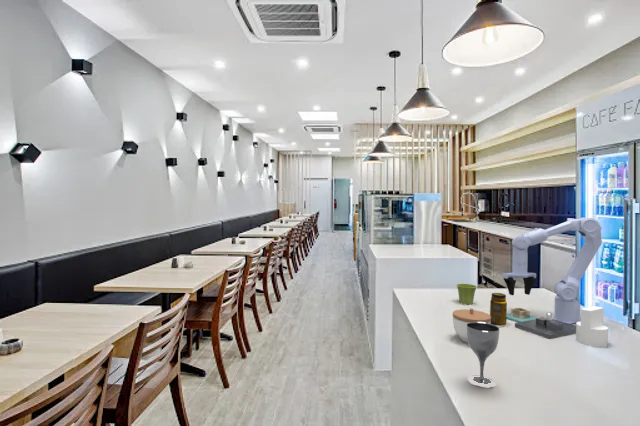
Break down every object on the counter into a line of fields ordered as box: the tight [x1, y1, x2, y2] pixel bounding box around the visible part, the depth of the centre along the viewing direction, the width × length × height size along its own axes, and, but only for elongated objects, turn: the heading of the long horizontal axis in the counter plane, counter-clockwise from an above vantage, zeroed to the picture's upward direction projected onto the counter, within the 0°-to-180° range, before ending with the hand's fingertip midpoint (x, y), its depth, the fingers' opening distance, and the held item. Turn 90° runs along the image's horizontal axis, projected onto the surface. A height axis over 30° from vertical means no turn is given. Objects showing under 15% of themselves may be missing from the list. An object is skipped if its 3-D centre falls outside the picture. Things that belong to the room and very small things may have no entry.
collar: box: [510, 307, 531, 319], centre depth 157 cm, size 5×5×3 cm
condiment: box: [489, 292, 511, 328], centre depth 150 cm, size 7×8×12 cm
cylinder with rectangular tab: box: [575, 305, 609, 348], centre depth 130 cm, size 9×9×12 cm
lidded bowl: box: [452, 308, 491, 343], centre depth 131 cm, size 13×13×11 cm
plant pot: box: [455, 283, 478, 305], centre depth 182 cm, size 9×9×9 cm
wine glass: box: [467, 322, 500, 384], centre depth 99 cm, size 8×8×15 cm
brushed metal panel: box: [514, 312, 576, 340], centre depth 143 cm, size 20×14×6 cm
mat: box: [506, 313, 537, 323], centre depth 157 cm, size 11×10×1 cm
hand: (519, 294), depth 160 cm, fingers open, 7 cm apart
